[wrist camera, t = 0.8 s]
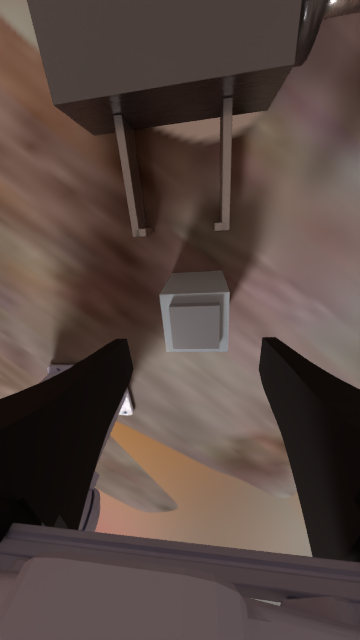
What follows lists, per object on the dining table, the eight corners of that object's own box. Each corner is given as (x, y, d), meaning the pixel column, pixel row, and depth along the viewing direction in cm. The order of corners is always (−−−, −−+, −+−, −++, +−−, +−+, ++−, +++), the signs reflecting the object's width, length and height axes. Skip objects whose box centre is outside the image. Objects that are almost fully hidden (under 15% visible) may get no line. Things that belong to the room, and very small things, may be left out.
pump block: (176, 317, 21) (165, 356, 15) (172, 272, 19) (157, 297, 13) (221, 316, 20) (228, 356, 14) (222, 270, 18) (230, 295, 12)
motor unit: (114, 236, 18) (88, 242, 14) (68, 6, 12) (2, -97, 8) (306, 222, 16) (341, 223, 12) (355, -61, 10) (451, -239, 6)
